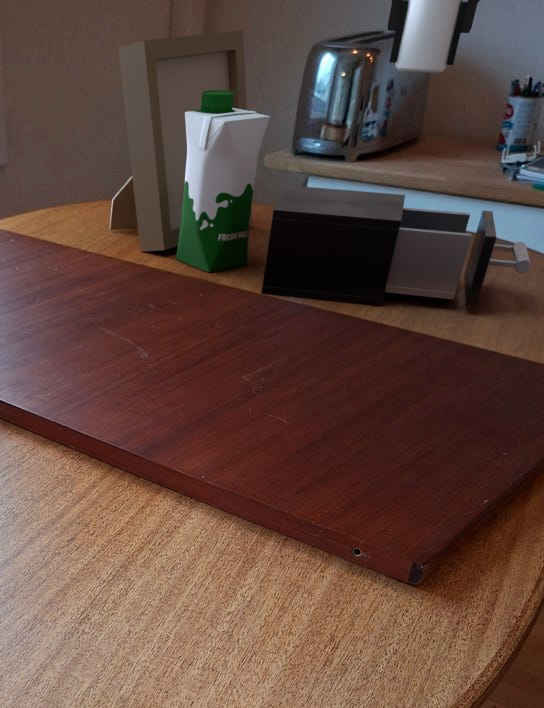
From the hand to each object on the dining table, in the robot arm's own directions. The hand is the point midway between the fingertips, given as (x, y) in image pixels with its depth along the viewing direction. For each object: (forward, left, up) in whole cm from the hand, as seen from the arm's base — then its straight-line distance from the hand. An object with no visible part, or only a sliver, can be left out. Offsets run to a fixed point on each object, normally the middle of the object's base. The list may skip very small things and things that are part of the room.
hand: (421, 62), depth 115 cm
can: (0, 0, -1) cm, 1 cm away
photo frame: (+31, +4, -23) cm, 39 cm away
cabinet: (+6, +21, -23) cm, 32 cm away
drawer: (-8, +21, -22) cm, 31 cm away
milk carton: (+22, +17, -23) cm, 36 cm away
